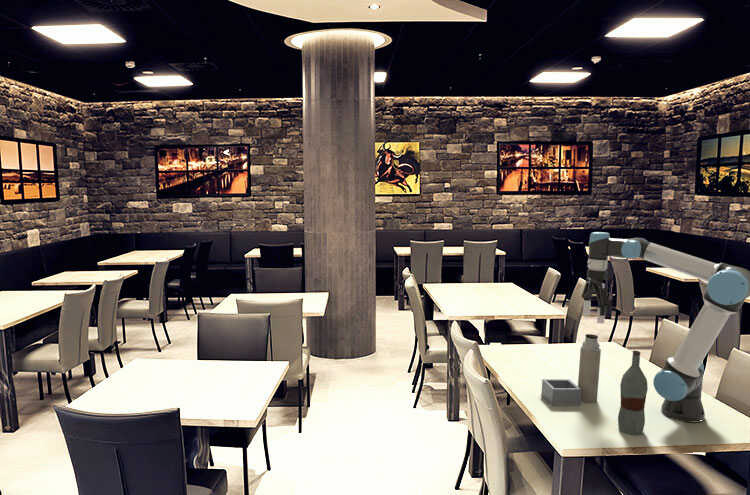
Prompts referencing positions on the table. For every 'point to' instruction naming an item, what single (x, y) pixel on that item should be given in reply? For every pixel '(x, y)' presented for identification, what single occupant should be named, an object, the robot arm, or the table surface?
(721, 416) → the table surface
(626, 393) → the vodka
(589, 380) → the thermos bottle
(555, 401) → the bin
